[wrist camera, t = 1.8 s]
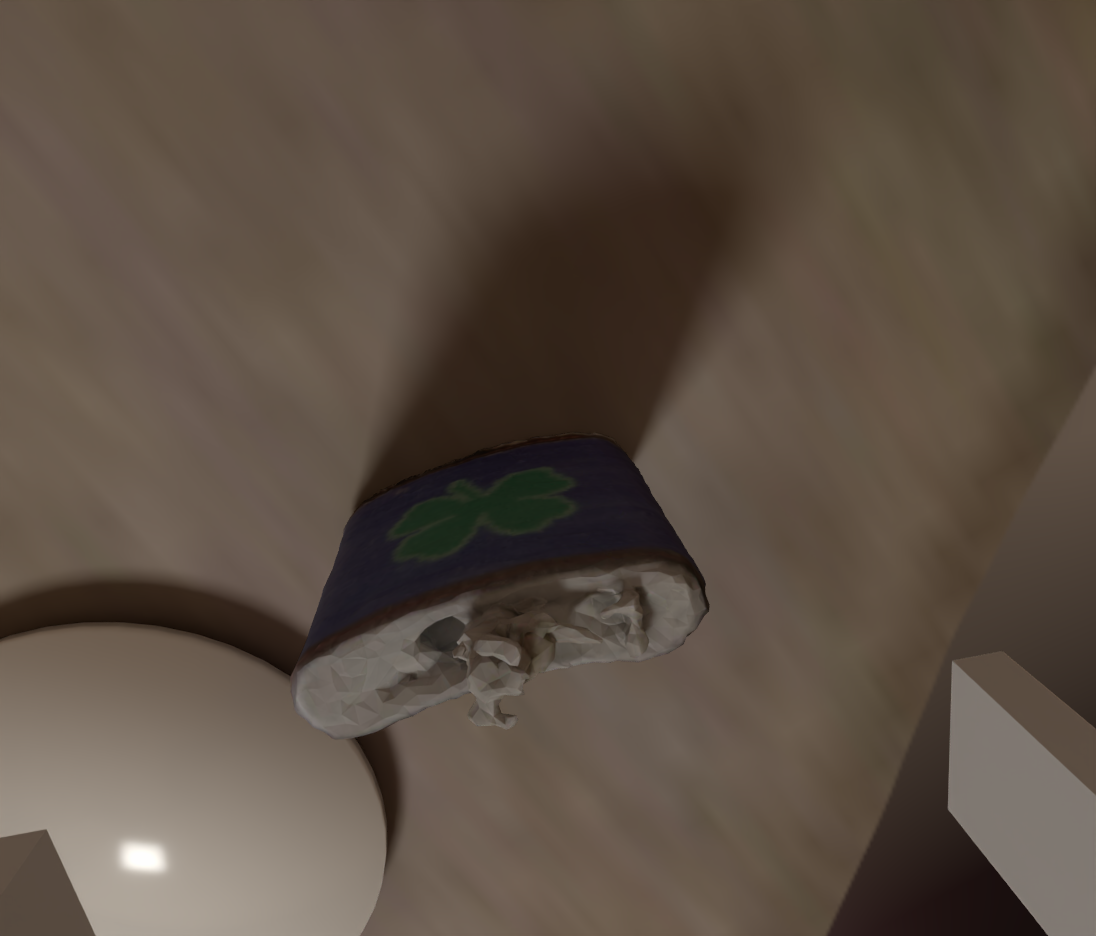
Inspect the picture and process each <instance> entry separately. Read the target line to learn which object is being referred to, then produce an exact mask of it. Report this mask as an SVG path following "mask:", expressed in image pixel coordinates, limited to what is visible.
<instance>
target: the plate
mask: <svg viewBox="0 0 1096 936" xmlns="http://www.w3.org/2000/svg"><path fill="white" fill-rule="evenodd" d="M290 677H291V676H289V675H287V674H286V673H284V672H282V671H281V670H279V669H278V668H276V667H274V666H273V665H271V664H269V663H268V662H266V661H264V660H262V659H260V658H258V657H256V656H253V655H251V654H249V653H247V652H245V651H243V650H240V649H238V648H236V647H234V646H232V645H229V644H226V643H223V642H220V641H217V640H213V639H210V638H207V637H204V636H201V635H198V634H195V633H190V632H185V631H181V630H176V629H171V628H166V627H162V626H155V625H145V624H135V623H125V622H82V623H74V624H65V625H57V626H49V627H43V628H39V629H35V630H30V631H26V632H22V633H18V634H14V635H10V636H7V637H4V638H2V639H0V838H1V837H7V836H12V835H17V834H23V833H28V832H34V831H39V830H44V829H47V831H48V833H49V836H50V838H51V840H52V842H53V844H54V846H55V849H56V851H57V853H58V855H59V857H60V859H61V862H62V864H63V866H64V868H65V870H66V872H67V875H68V877H69V879H70V881H71V883H72V885H73V888H74V890H75V892H76V894H77V896H78V898H79V901H80V903H81V905H82V907H83V909H84V911H85V914H86V916H87V918H88V920H89V922H90V924H91V927H92V929H93V931H94V933H95V935H96V936H360V934H361V933H362V931H363V930H364V928H365V926H366V924H367V922H368V920H369V918H370V916H371V914H372V912H373V910H374V908H375V905H376V902H377V898H378V895H379V892H380V889H381V886H382V881H383V874H384V867H385V861H386V853H387V819H386V813H385V808H384V803H383V797H382V793H381V791H380V788H379V785H378V782H377V780H376V777H375V774H374V771H373V769H372V767H371V765H370V763H369V761H368V760H367V758H366V756H365V754H364V752H363V750H362V749H361V747H360V745H359V744H358V742H357V741H356V740H355V738H350V739H338V740H335V739H332V738H331V737H330V736H328V735H327V734H326V733H324V732H322V731H320V730H318V729H315V728H313V727H312V726H311V725H310V724H309V723H308V722H307V721H306V720H305V719H304V718H302V717H300V716H299V715H298V714H297V713H296V711H295V710H294V704H293V700H292V696H291V693H290V690H291V681H290Z"/></svg>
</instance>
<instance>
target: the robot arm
mask: <svg viewBox="0 0 1096 936" xmlns="http://www.w3.org/2000/svg"><path fill="white" fill-rule="evenodd" d="M951 688H952V689H951V721H950V722H951V723H950V757H949V791H948V792H949V793H948V809H949V811H950V812H951V813H952V815H953V816H954V817H955V818H956V819H957V821H958V822H959V823H960V825H961V826H962V827H963V828H964V830H965V831H966V832H967V833H968V835H969V836H970V837H971V839H972V840H973V841H974V842H975V844H976V845H977V846H978V847H979V849H980V850H981V851H982V852H983V854H984V855H985V856H986V858H987V859H988V860H989V861H990V863H991V864H992V865H993V866H994V868H995V869H996V870H997V871H998V872H999V874H1000V875H1001V876H1002V878H1003V879H1004V880H1005V881H1006V883H1007V884H1008V885H1009V887H1010V888H1011V889H1012V890H1013V891H1014V893H1015V894H1016V895H1017V896H1018V898H1019V899H1020V900H1021V902H1022V903H1023V904H1024V905H1025V907H1026V908H1027V909H1028V910H1029V912H1030V913H1031V914H1032V915H1033V917H1034V918H1035V919H1036V921H1037V922H1038V923H1039V924H1040V926H1041V927H1042V928H1043V929H1044V931H1045V932H1046V933H1047V934H1048V936H1096V729H1095V728H1094V727H1093V726H1092V725H1090V724H1089V723H1088V722H1087V721H1086V720H1084V719H1083V718H1082V717H1081V716H1079V715H1078V714H1077V713H1076V712H1075V711H1073V710H1072V709H1071V708H1070V707H1069V706H1068V705H1066V704H1065V703H1064V702H1063V701H1062V700H1060V699H1059V698H1058V697H1057V696H1055V695H1054V694H1053V693H1052V692H1051V691H1050V690H1048V689H1047V688H1046V687H1045V686H1044V685H1042V684H1041V683H1040V682H1039V681H1038V680H1036V679H1035V678H1034V677H1033V676H1032V675H1030V674H1029V673H1028V672H1027V671H1026V670H1024V669H1023V668H1022V667H1021V666H1020V665H1018V664H1017V663H1016V662H1015V661H1014V660H1012V659H1011V658H1010V657H1009V656H1008V655H1006V654H1005V653H1004V652H1003V651H1001V652H995V653H990V654H985V655H979V656H974V657H969V658H964V659H958V660H953V661H952V686H951ZM0 936H96V935H95V933H94V931H93V929H92V927H91V924H90V922H89V920H88V918H87V916H86V914H85V911H84V909H83V907H82V905H81V903H80V901H79V898H78V896H77V894H76V892H75V890H74V888H73V885H72V883H71V881H70V879H69V877H68V875H67V872H66V870H65V868H64V866H63V864H62V862H61V859H60V857H59V855H58V853H57V851H56V849H55V846H54V844H53V842H52V840H51V838H50V836H49V833H48V831H47V829H44V830H39V831H34V832H28V833H23V834H17V835H12V836H7V837H1V838H0Z"/></svg>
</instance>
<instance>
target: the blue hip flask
mask: <svg viewBox="0 0 1096 936" xmlns="http://www.w3.org/2000/svg"><path fill="white" fill-rule="evenodd" d="M705 585H706V583H705V580H704V577H703V576H702V574H701V572H700V571H699V569H698V567H697V565H696V564H695V562H694V560H693V559H692V557H691V556H690V555H689V554H688V552H687V550H686V549H685V547H684V545H683V543H682V542H681V540H680V538H679V537H678V536H677V534H676V532H675V530H674V528H673V527H672V525H671V524H670V523H669V521H668V520H667V518H666V517H665V515H664V513H663V511H662V509H661V507H660V506H659V504H658V503H657V501H656V500H655V499H654V497H653V495H652V494H651V491H650V488H649V487H648V485H647V484H646V483H645V481H644V479H643V476H642V475H641V474H640V471H639V469H638V468H637V467H636V466H635V464H634V463H633V462H632V461H631V460H630V458H629V457H628V456H627V454H626V453H625V452H624V451H623V450H622V449H621V448H620V447H619V445H618V444H617V443H616V441H615V440H614V439H613V438H611V437H607V436H605V435H601V434H598V433H592V434H585V433H567V434H560V435H554V436H547V437H544V436H542V437H539V436H538V437H533V438H530V439H529V440H525V441H518V440H515V441H514V442H512V443H509V442H508V443H502V444H501V445H500V446H497V447H494V448H491V449H489V448H487V449H482V450H481V451H477V452H476V453H474V454H473V455H470V456H468V457H465V458H463V459H459V460H455V461H453V462H450V463H448V464H445V465H443V466H439V467H437V468H434V469H433V470H428V471H425V473H423V474H421V475H418V476H414V477H413V478H412V476H411V477H409V478H408V479H406V480H405V479H404V480H403V481H401V482H399V483H397V485H393V486H389V487H387V488H385V489H384V490H381V491H380V492H379V493H376V494H375V495H374V496H373V497H372V498H370V499H368V500H366V501H364V502H363V503H362V505H360V506H359V508H358V509H357V510H356V511H355V512H354V513H353V515H352V516H351V517H350V519H349V521H348V522H347V524H346V526H345V528H344V532H343V538H342V541H341V543H340V547H339V551H338V554H337V557H336V560H335V563H334V566H333V569H332V571H331V574H330V576H329V578H328V580H327V582H326V584H325V586H324V589H323V593H322V597H321V599H320V602H319V605H318V608H317V611H316V614H315V617H314V620H313V622H312V625H311V628H310V631H309V634H308V637H307V640H306V643H305V645H304V648H303V650H302V652H301V655H300V657H299V659H298V662H297V664H296V666H295V668H294V670H293V673H292V675H291V677H290V681H291V690H290V693H291V696H292V700H293V704H294V710H295V711H296V713H297V714H298V715H299V716H300V717H302V718H304V719H305V720H306V721H307V722H308V723H309V724H310V725H311V726H312V727H313V728H315V729H318V730H320V731H322V732H324V733H326V734H327V735H328V736H330V737H331V738H332V739H335V740H338V739H350V738H355V737H359V736H364V735H368V734H371V733H375V732H377V731H379V730H382V729H384V728H386V727H388V726H390V725H392V724H393V723H395V722H397V721H399V720H402V719H405V718H408V717H411V716H414V715H415V714H417V713H419V712H421V711H422V710H424V709H426V708H428V707H431V706H434V705H437V704H439V703H442V702H444V701H447V700H449V699H457V698H459V697H460V696H462V695H464V694H467V693H473V694H474V695H475V696H476V702H475V703H474V704H473V706H472V707H471V709H470V711H469V712H468V718H469V720H470V721H472V722H473V723H474V724H475V725H477V726H489V725H497V726H499V727H502V728H504V729H509V728H511V727H512V726H514V725H515V724H516V722H517V721H518V718H517V716H516V715H509V714H502V713H501V710H500V707H499V705H498V704H499V703H500V701H501V699H502V698H503V697H504V696H505V695H516V696H518V695H524V692H523V689H522V688H523V684H525V683H526V682H528V681H530V680H532V679H534V677H535V676H536V675H537V674H538V673H544V672H546V671H550V670H555V669H559V668H570V667H572V666H574V665H579V664H585V663H593V662H605V663H611V662H613V661H615V660H618V661H628V662H641V661H644V660H648V659H651V658H652V657H656V656H660V655H664V654H668V653H670V652H672V651H673V650H675V649H676V648H678V647H680V646H681V645H683V644H684V641H685V639H686V637H687V636H689V635H690V634H691V633H692V632H693V631H694V630H696V628H697V627H698V625H699V624H700V622H701V620H702V619H703V617H704V616H705V615H706V614H707V613H708V612H709V602H708V600H707V597H706V594H705Z"/></svg>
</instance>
